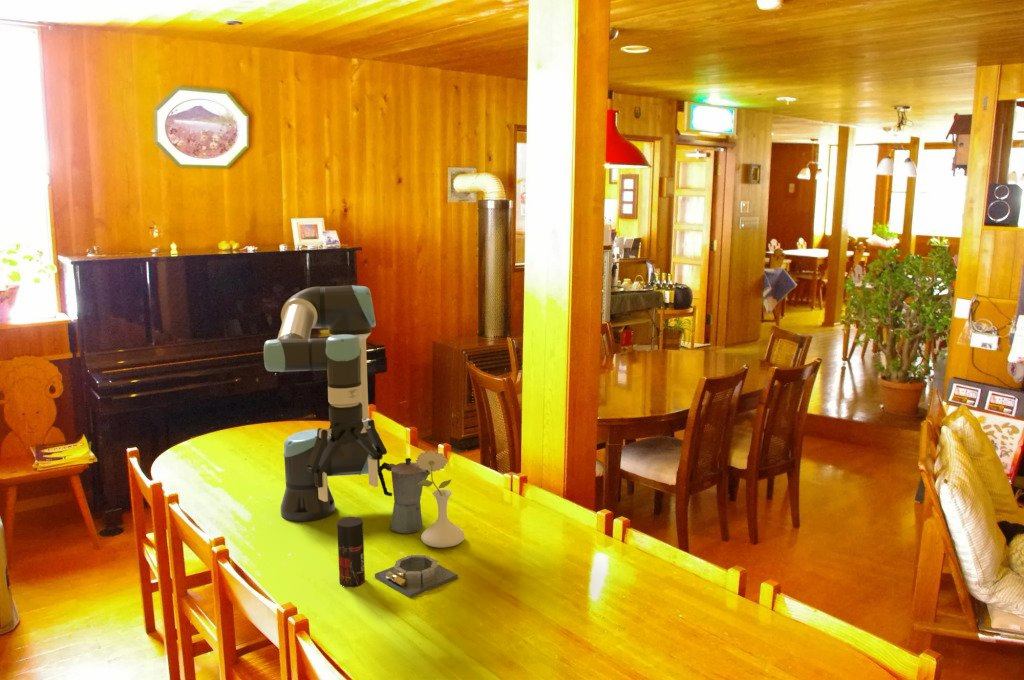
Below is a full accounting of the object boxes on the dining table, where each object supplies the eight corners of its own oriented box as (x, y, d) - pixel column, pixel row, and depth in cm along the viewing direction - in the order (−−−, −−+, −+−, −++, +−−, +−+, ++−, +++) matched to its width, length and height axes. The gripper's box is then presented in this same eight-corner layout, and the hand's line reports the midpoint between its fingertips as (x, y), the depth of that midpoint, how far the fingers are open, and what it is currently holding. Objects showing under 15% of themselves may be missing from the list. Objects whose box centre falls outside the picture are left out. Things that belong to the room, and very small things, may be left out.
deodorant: (341, 576, 199) (338, 517, 196) (366, 575, 199) (363, 516, 197) (338, 588, 193) (335, 527, 190) (363, 587, 193) (361, 526, 191)
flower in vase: (471, 537, 221) (470, 446, 217) (454, 554, 211) (453, 460, 206) (426, 530, 225) (424, 442, 221) (408, 547, 215) (405, 454, 210)
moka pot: (426, 537, 221) (425, 465, 218) (372, 532, 224) (369, 461, 221) (437, 523, 230) (435, 454, 227) (384, 519, 233) (382, 450, 230)
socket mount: (374, 577, 198) (374, 563, 197) (421, 559, 208) (421, 546, 207) (410, 598, 188) (409, 583, 188) (457, 578, 198) (457, 564, 197)
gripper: (304, 416, 177) (309, 510, 181) (399, 396, 194) (402, 483, 198) (287, 410, 183) (292, 501, 186) (381, 391, 200) (384, 475, 203)
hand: (348, 492), depth 192 cm, fingers open, 13 cm apart
